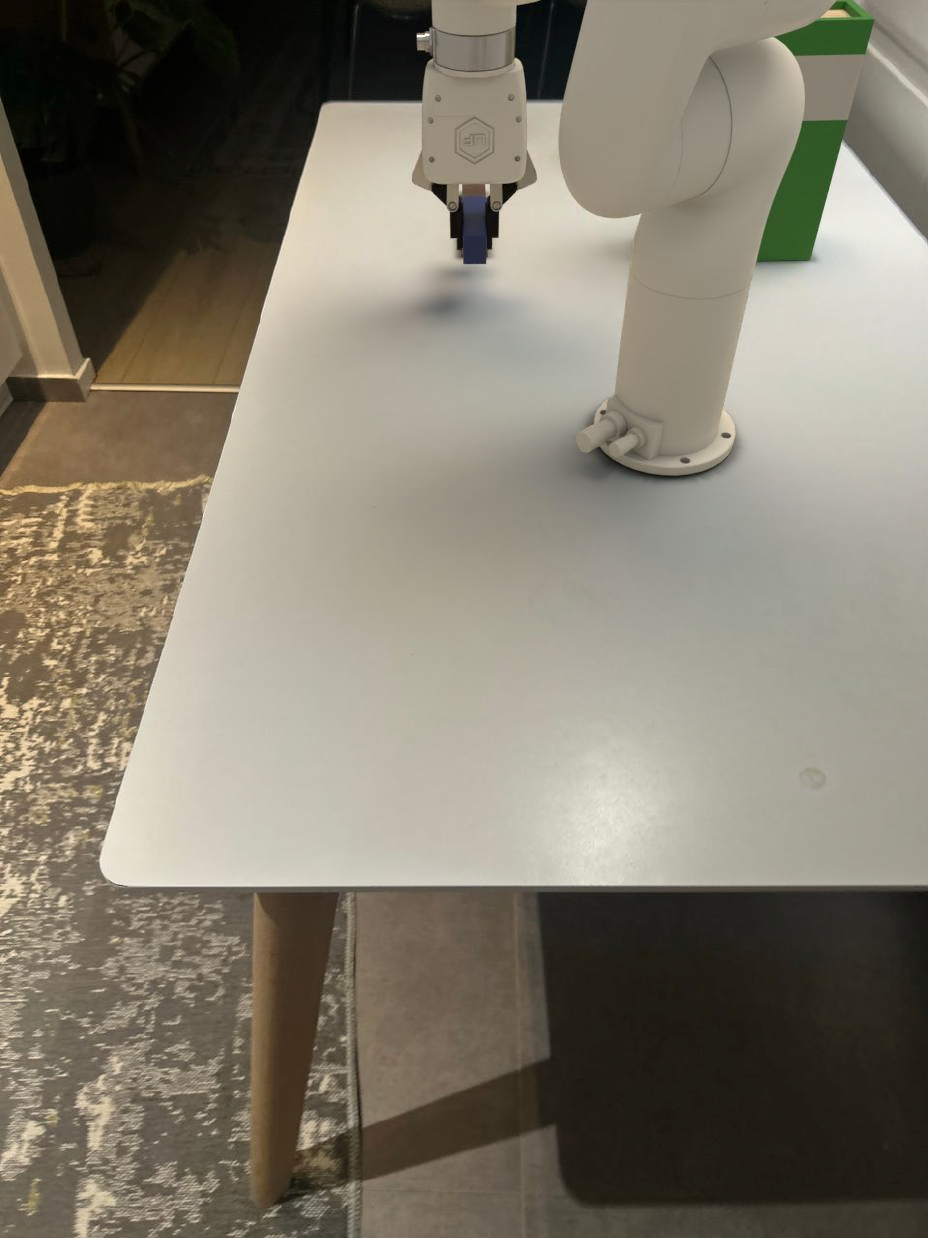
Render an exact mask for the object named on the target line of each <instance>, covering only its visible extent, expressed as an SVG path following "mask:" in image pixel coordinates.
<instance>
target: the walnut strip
mask: <svg viewBox="0 0 928 1238" xmlns="http://www.w3.org/2000/svg"><path fill="white" fill-rule="evenodd" d="M486 193H487V192H486V184H461V198H463V197H467V196H481V197H485V198H487V194H486ZM461 251H462V252H461V254H462V256H461V257H463V249H462V250H461ZM488 256H489V250H487V257H488Z"/></svg>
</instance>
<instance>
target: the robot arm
mask: <svg viewBox="0 0 928 1238" xmlns="http://www.w3.org/2000/svg"><path fill="white" fill-rule="evenodd" d="M538 1H540V0H431V21H432V22H431V25H432V26H431V27H429V29H428V30H429V31H427V30H426V31H424V32H417V33H416V48H417V51H425V53H429V56H432V59H430V60H429V61H428V62H427V64H426V66H425V70H424V77H423V85H422V97H421V98H422V100H421V151H420V153H419V155H418V158H417V161H416V163H415V165H414V168H413V171H412V172H411V173H412V174H411V182H412V184H413V185H414V186H417V187H419V188H421V189H423V190H426V191H429V192H432V194H433V195H434V196H435V197H436V198H437V199H438V200H439V201H441V202H442V204H443V205H445V207H446V209H447V211H448V212H449V239H456V251H462V249H463V202H461V198H462V196H460V185H462V184H485V185H489V195H488V196H486V198H487V202H485V223H486V230H487V250H488V251H492V250H493V239H499V238H500V212H501V211H502V209H503V206H504V205H505V204H506V203H507V202H508V201H509V200H510V199H511V198H512V197H513V196H514V195H515V194H516V193H517V192H518V191H519V190H523V189H525V188H527V187H529V186H531V185H533V184H535V183H536V182H537V181H538V175H537V170H536V167H535V165H534V163H533V160H532V158H531V155H530V153H529V150H528V105H527V89H526V79H525V72H524V66H523V63H522V61H521V60H520V59H518V58H517V57H516V34H517V33H516V31H517V24H516V23H517V6H520V5H525V4H526V5H527V4H530V3H536V2H538ZM836 1H837V0H587V2H586V5H585V9H584V12H583V17H582V22H581V25H580V30H579V33H578V36H577V37H578V38H577V42H576V47H575V50H574V53H573V58H572V62H571V66H570V70H569V73H568V77H567V82H566V86H565V90H564V95H563V100H562V105H561V112H560V117H559V126H558V157H559V158H558V159H559V164H560V169H561V173H562V177H563V180H564V183H565V185H566V188H567V189H568V191H569V193H570V194H571V196H572V198H573V199H574V200H575V201H576V203H577V204H578V205H579V206H580V207H581V208H583V210H585V211H587V212H589V213H590V214H592V215H595V216H597V217H601V218H606V219H624V218H625V219H626V218H629V217H634V216H638V215H640V217H639V220H638V224H637V225H636V230H635V234H634V237H633V241H632V245H631V246H632V247H631V254H630V261H629V267H628V275H627V284H626V293H625V301H624V309H623V316H622V317H623V318H622V326H621V334H620V342H619V352H618V361H617V366H616V367H617V368H616V376H615V384H614V393H613V395H612V396H611V395H610V396H609V397H608V398H607V399H605V400H604V401H603V402H602V403H600V405H599V407H598V408H597V409H596V412H595V414H594V417H593V424H591V425H589V426H587V427H585V428H584V429H583V428H582V430H580V431H578V432H577V433H576V434H575V438H574V441H575V443H576V446H577V448H578V450H580V451H581V452H582V453H583V454H584V453H585V454H589V453H590V452H592V451H594V450H595V449H597V448H600V449H601V450H602V452H603V453H604V454H606V455H607V456H608V457H609V458H611V460H613V461H616V462H617V463H619V464H621V465H623V466H624V467H627V468H629V469H632V470H634V471H639V472H642V473H645V474H650V475H657V476H671V477H672V476H673V477H674V476H676V477H677V476H685V475H692V474H697V473H702V472H704V471H706V470H709V469H712V468H714V467H715V466H717V465H718V464H720V463H722V462H723V461H724V460H725V459H726V458H727V457H728V456H729V455H730V453H731V451H732V450H733V448H734V443H735V440H736V425H735V423H734V420H733V418H732V417H731V415H730V414H729V412H728V411H727V410H726V409H725V408H724V405H725V401H726V396H727V393H728V387H729V384H730V379H731V374H732V370H733V365H734V361H735V356H736V352H737V348H738V343H739V339H740V335H741V330H742V326H743V321H744V316H745V311H746V308H747V304H748V298H749V294H750V290H751V285H752V280H753V278H754V273H755V269H756V264H757V262H758V261H757V256H758V252H759V248H760V244H761V240H762V236H763V232H764V228H765V225H766V221H767V218H768V215H769V212H770V209H771V206H772V203H773V200H774V198H775V195H776V192H777V190H778V187H779V185H780V182H781V180H782V178H783V175H784V173H785V171H786V168H787V166H788V164H789V161H790V159H791V156H792V154H793V151H794V149H795V146H796V143H797V140H798V137H799V133H800V130H801V125H802V120H803V116H804V107H805V88H804V81H803V77H802V73H801V70H800V67H799V65H798V62H797V61H796V59H795V57H794V55H793V54H792V53H791V51H790V50H789V49H788V48H787V47H786V46H785V45H784V44H783V43H782V42H780V41H779V40H777V39H776V38H774V37H775V36H778V35H781V34H785V33H788V32H791V31H794V30H797V29H800V28H802V27H805V26H807V25H809V24H811V23H813V22H814V21H816V20H818V19H819V18H820V17H822V16H823V15H824V14H825V13H826V12H827V11H828V10H829V9H830V8H831V7H832V5H833V4H834V3H835V2H836Z"/></svg>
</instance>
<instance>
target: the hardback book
mask: <svg viewBox="0 0 928 1238" xmlns="http://www.w3.org/2000/svg"><path fill="white" fill-rule="evenodd" d="M875 20H876V19H875V18H874V17H873V16H872V15H871V14H870V13H869V12H867V11H866V10H865V9H864V8H863V7H861V6H860V5H859V4H858V2H856V1H855V0H837V1H836V2H835V3H834V4H833V5H832V7H831V8H830V9H829V10H828V11H827V12H826V13H825V14H824V15H823V16H822V17H820V18H819V19H818V20H816V21H814V22H813V23H811V24H809V25H807V26H805V27H802V28H800V29H797V30H794V31H791V32H788V33H785V34H781V35H778V36H775V37H774V38H776V39H777V40H779V41H780V42H782V43H783V44H784V45H785V46H786V47H787V48H788V49H789V50H790V51H791V53H792V54H793V55H794V57H795V59H796V61H797V62H798V65H799V67H800V70H801V73H802V77H803V81H804V88H805V107H804V116H803V120H802V125H801V130H800V133H799V137H798V140H797V143H796V146H795V149H794V151H793V154H792V156H791V159H790V161H789V164H788V166H787V168H786V171H785V173H784V175H783V178H782V180H781V182H780V185H779V187H778V190H777V192H776V195H775V198H774V200H773V203H772V206H771V209H770V212H769V215H768V218H767V221H766V225H765V228H764V232H763V236H762V240H761V244H760V248H759V252H758V256H757V261H756V262H774V261H775V262H778V261H781V262H782V261H810V260H811V258H812V256H813V251H814V248H815V243H816V239H817V236H818V232H819V229H820V225H821V222H822V217H823V214H824V210H825V207H826V202H827V199H828V196H829V191H830V187H831V184H832V180H833V177H834V172H835V169H836V167H837V166H836V165H837V163H838V162H837V161H838V157H839V154H840V150H841V147H842V143H843V139H844V135H845V131H846V129H847V124H848V120H849V118H850V117H849V116H850V113H851V108H852V106H853V102H854V99H855V94H856V92H857V87H858V83H859V79H860V76H861V73H862V68H863V65H864V61H865V57H866V54H867V49H868V45H869V42H870V38H871V35H872V31H873V27H874V23H875Z"/></svg>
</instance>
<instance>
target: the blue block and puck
mask: <svg viewBox="0 0 928 1238" xmlns="http://www.w3.org/2000/svg"><path fill="white" fill-rule="evenodd" d="M461 202H463V256H462V263H463V265H487V260H488V259H487V258H488V256H487V230H486V223H485V202H487V197H486V198H485V197H481V196H467V197H463V198H462V197H461Z"/></svg>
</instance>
